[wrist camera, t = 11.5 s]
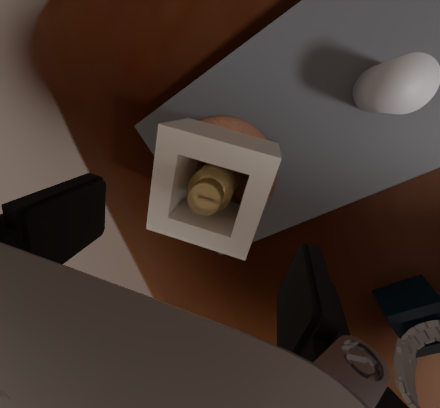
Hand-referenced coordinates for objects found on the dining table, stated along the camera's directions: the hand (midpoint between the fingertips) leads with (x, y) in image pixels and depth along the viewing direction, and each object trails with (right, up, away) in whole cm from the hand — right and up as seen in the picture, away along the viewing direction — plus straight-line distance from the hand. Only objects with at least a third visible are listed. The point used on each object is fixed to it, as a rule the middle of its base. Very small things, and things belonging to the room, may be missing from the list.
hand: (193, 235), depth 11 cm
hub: (+1, +4, +9) cm, 10 cm away
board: (+7, +7, +8) cm, 13 cm away
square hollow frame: (+1, +4, +9) cm, 10 cm away
